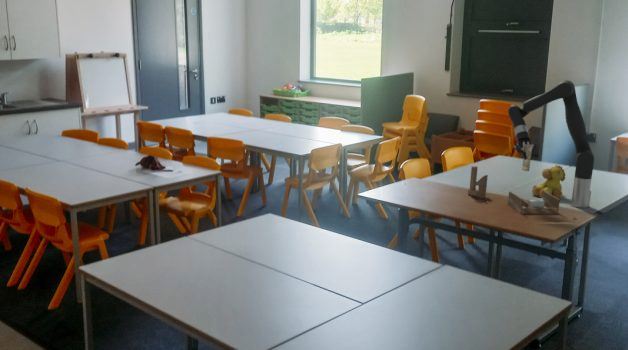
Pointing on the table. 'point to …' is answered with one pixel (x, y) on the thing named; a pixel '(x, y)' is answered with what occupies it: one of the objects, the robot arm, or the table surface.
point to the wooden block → (481, 183)
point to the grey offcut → (536, 203)
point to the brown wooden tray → (522, 207)
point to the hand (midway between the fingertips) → (528, 158)
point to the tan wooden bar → (528, 153)
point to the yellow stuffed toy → (551, 182)
